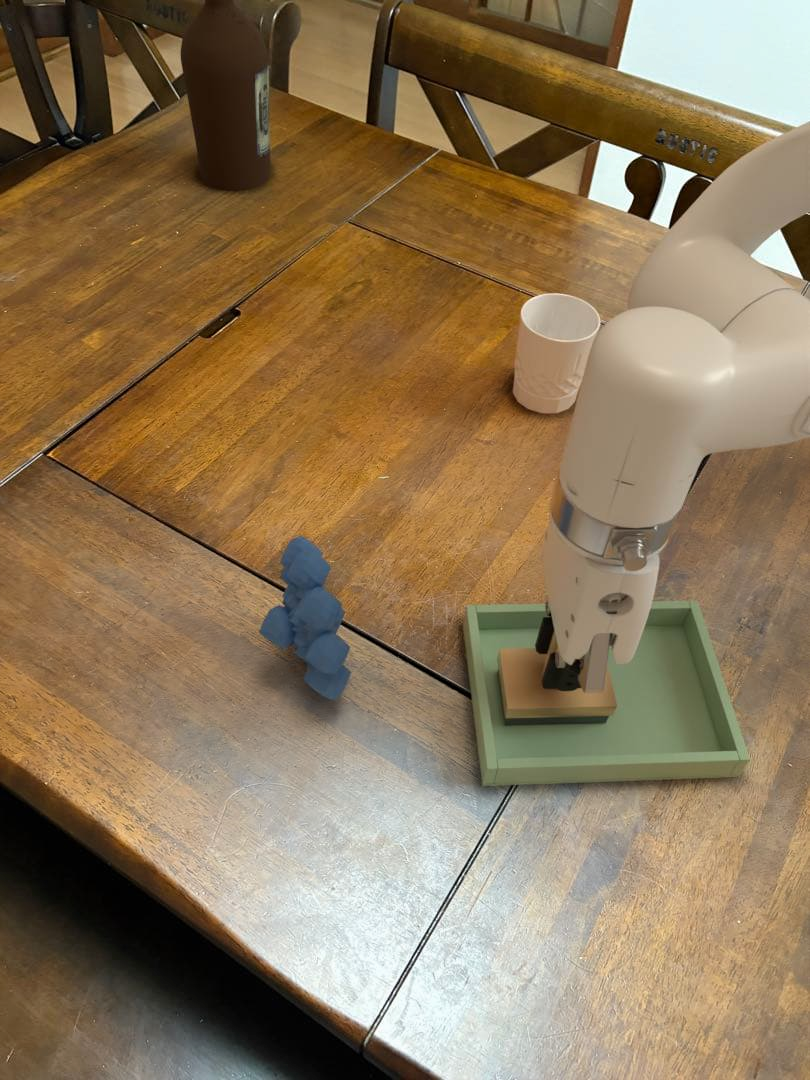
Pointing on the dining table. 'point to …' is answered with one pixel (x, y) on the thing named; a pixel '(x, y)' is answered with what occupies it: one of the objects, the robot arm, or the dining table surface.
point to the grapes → (310, 619)
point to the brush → (546, 692)
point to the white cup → (553, 351)
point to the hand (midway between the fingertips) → (559, 666)
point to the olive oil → (228, 96)
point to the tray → (640, 717)
